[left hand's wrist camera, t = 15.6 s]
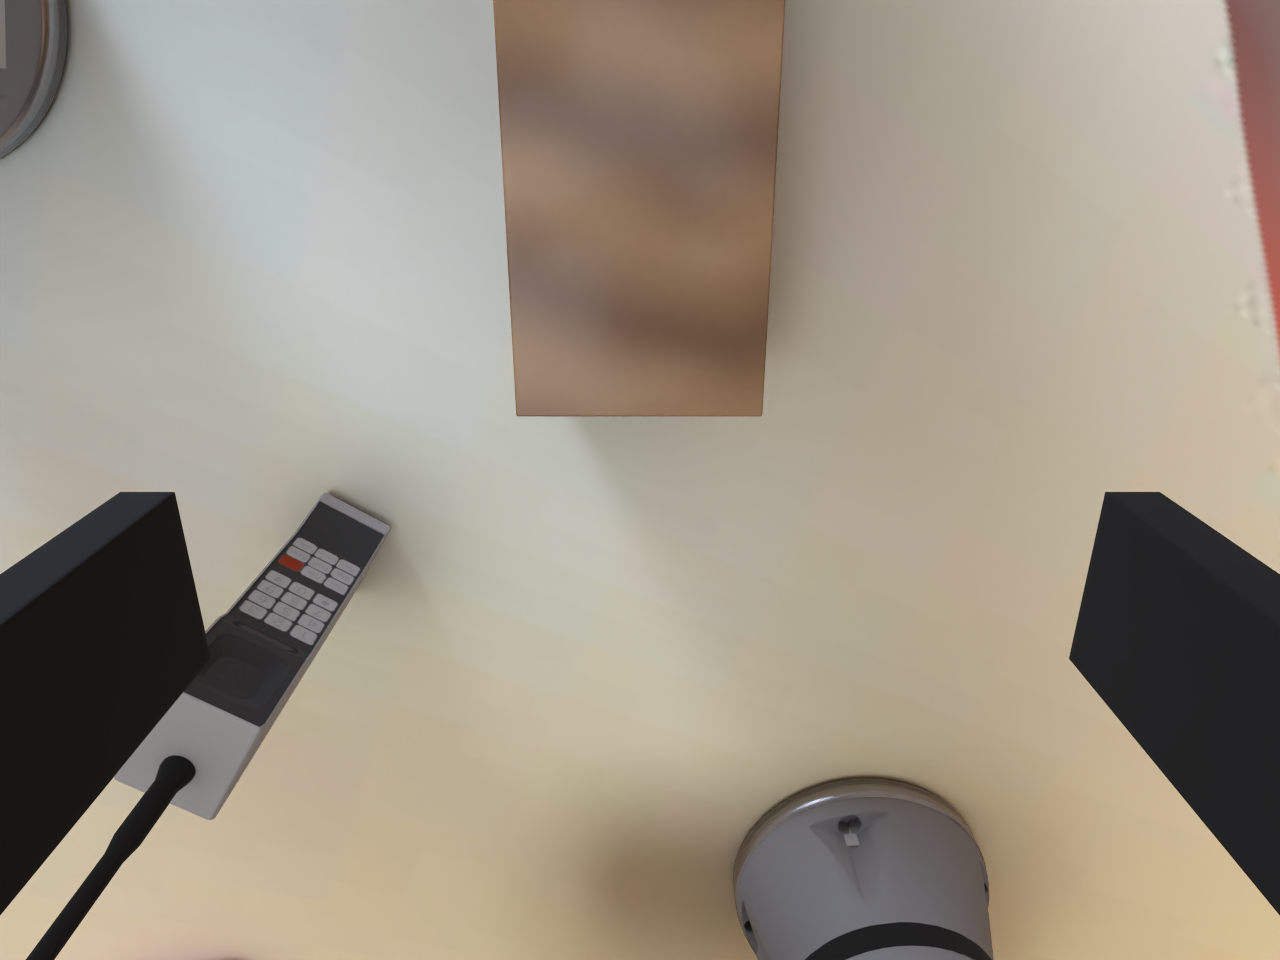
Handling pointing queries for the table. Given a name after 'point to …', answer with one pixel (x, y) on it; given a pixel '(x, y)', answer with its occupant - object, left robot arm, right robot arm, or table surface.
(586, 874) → the table surface
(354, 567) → the vintage mobile phone
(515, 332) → the wooden rectangular block
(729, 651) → the table surface
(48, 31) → the right robot arm
